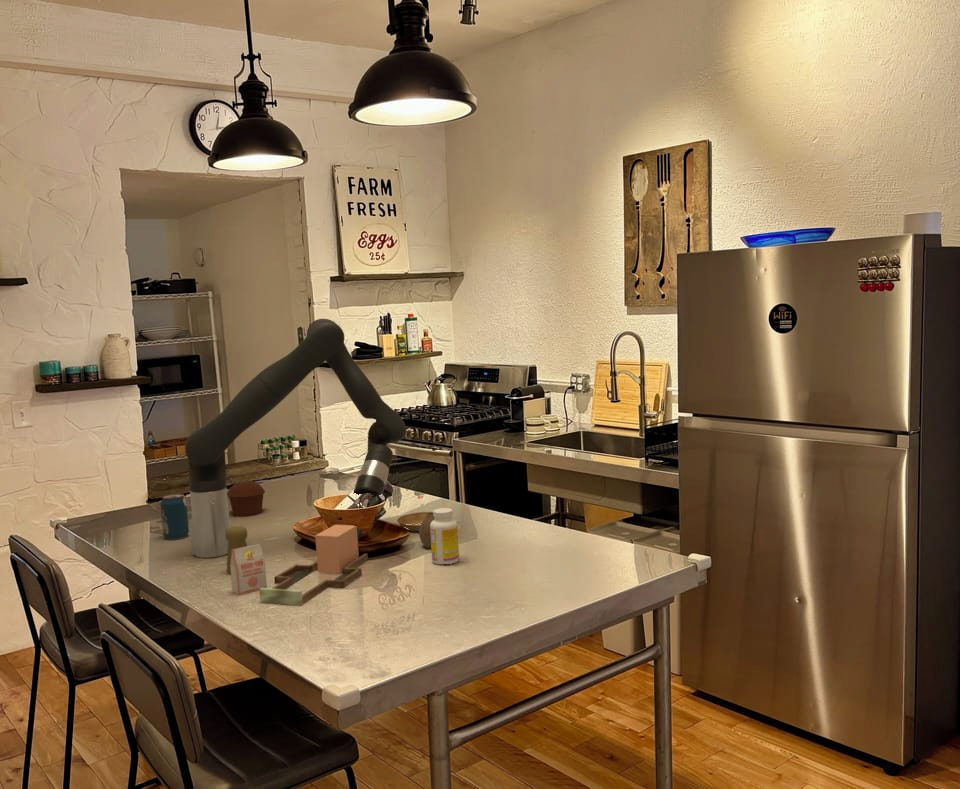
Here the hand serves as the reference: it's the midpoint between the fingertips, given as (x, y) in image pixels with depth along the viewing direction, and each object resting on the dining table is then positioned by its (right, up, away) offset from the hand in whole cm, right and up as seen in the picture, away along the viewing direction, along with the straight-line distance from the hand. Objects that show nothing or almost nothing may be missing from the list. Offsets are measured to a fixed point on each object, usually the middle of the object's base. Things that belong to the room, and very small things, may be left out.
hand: (353, 538), depth 220 cm
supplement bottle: (+24, -4, -8) cm, 25 cm away
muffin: (-41, -1, +51) cm, 66 cm away
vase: (+20, -3, +6) cm, 21 cm away
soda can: (-54, -4, +27) cm, 61 cm away
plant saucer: (+16, -1, +26) cm, 30 cm away
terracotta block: (-3, -5, -8) cm, 10 cm away
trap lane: (-6, -7, -17) cm, 19 cm away
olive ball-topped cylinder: (-27, -7, -8) cm, 29 cm away
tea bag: (-21, -8, -22) cm, 31 cm away
